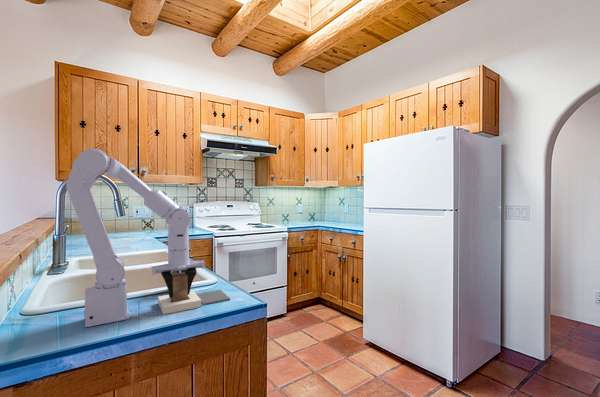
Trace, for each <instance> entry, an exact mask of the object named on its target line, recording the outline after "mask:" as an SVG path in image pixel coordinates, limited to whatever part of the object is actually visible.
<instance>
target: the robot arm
mask: <svg viewBox="0 0 600 397" xmlns="http://www.w3.org/2000/svg"><path fill="white" fill-rule="evenodd" d="M105 174H106V175H105ZM103 175H105V176H106V177H108V178H112V179H116V180H119V181H120V182H122V183H123V184H125V185H126V186H127V187H128V188H130V189H131V190H133V192H135V193H136V194H138V195H139V196H140V197H142V198H143V204H144V206H146V208H148V209H149V210H150V211H152V212H153V213H154V214H156V215H157V216H158V217H160V218H161V219H162V220H163V219H165V222H166V224H167V225H168V228H167V229H168V230H167V232H168V234H167V262H168V263H164V264H160V265H154V266H150V274H151V275H154V276H155V275H157V274H160V275H161V276H162V278H163V280H164V282H165V285H166V287H167V292H168V295H169V297H170V298H172V297H173V291H172V277H173V276H172V271H180V270H185V273H186V274H187V275H188V295H189V293H190V291H191V287H192V284H193V282H194V279H195V277H196V275H197V273H198V271H197V269H205V268H206V266H205V265H206V264H205V263H206V262H205V261H204V260H193V261H191V260H190V241H189V240H190V239H189V237H190V234H189V225H190V224H191V220H192V219H191V216H190V213H189V212H188V211H187V210H186V209H184V208H181V207H180V206H181V204H180V203H179V202H175V201H174V200H173V199H171V198H170V197H169V196H168V193H167V191H165V190H160V189H157V188H156V189H152V188H150V187H149V186H148V185H147V184H146V183H145V182H144V181H142V180H141V179H140V178H139V177H138V176H137V175H135V174H134V173H133V172H132V171H131V170H130V169H128V168H127V167H126V165H124V164H123V163H121V162H119V161H118V160H116V159H115V158H113V157H112V156H108V154H107V153H105V151H103V150H101V149H99V148H92V147H91V148H86V149H84V150H83V151H82V152H81V153H79V155H78V156H77V157H76V158H75V159H74V160H73V164H72V167H71V170H70V173H69V177H68V179H67V182H66V185H65V187H66V191H67V194H68V196H69V198H70V200H71V204H72V206H73V208H74V211H75V214H76V216H77V218H78V221H79V224H80V226H81V229H82V231H83V234H84V236H85V238H86V240H87V244H88V246H89V249H90V251H91V254H92V257H93V261H94V265H95V267H96V270H95V271H96V272H95V280H96V282H94V284H93V286H90V287H89V286H88V287H86V288H85V290H84V291H85V292H84V311H83V317H84V321H85V322H84V324H85V325H84V327H85V328H88V327H89V328H90V327H94V326H98V325H104V324H105V325H106V324H110V323H114V322H115V323H116V322H120V321H126V320H129V319H130V314H129V313H130V312H129V308H128V294H127V293H128V292H127V290H128V289H127V287H128V286H127V283H128V282H127V281H128V280H127V279H126V278H125V277H126V276H125V275H126V270H125V264H124V262H123V260H122V258H120V257H118V256H117V254H116V251H115V249H114V247H113V245H112V243H111V240H110V238H109V234H108V232H107V229H106V227H105V225H104V222H103V219H102V217H101V214H100V211H99V209H98V206H97V204H96V201H95V199H94V196H93V194H92V191H91V189H92V187H93V186H94V185H95V183H96V182H97V180H98V179H99V178H100V177H102V176H103Z"/></svg>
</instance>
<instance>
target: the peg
mask: <svg viewBox="0 0 600 397" xmlns="http://www.w3.org/2000/svg"><path fill="white" fill-rule="evenodd" d="M172 276H173V277H172V291H173V297H172V298H171V303H172V302H177V301H183V300H188V275H187V274H186V273H185V272H182V273H175V274H172Z"/></svg>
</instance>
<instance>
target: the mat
mask: <svg viewBox="0 0 600 397" xmlns="http://www.w3.org/2000/svg"><path fill="white" fill-rule="evenodd" d="M196 294H197V296H198V297H199V298H200V299H201V305H203V306H206V305H212V304H217V303H221V302H227V301H230V300H231V298H230V297H229V296H228V295H227V294H226V293H225V292H223V291H222V290H221V289H217V290H211V291H205V292H200V293H196Z"/></svg>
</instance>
